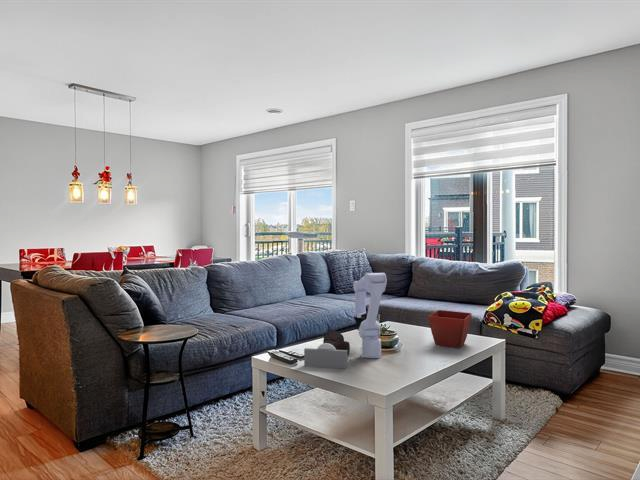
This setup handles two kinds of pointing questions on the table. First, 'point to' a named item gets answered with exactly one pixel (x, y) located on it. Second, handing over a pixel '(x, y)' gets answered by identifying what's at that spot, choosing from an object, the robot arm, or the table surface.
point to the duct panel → (325, 357)
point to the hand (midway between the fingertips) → (360, 328)
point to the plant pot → (449, 328)
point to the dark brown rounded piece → (336, 341)
